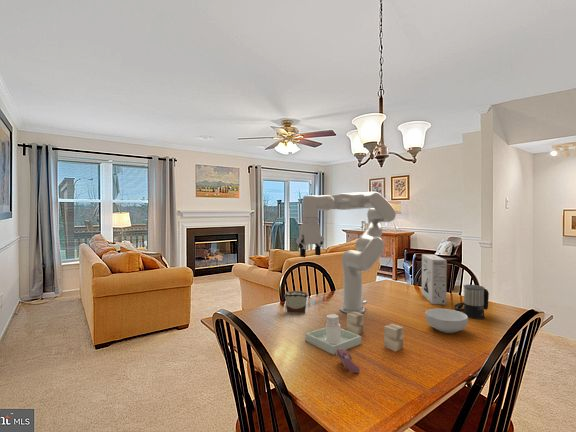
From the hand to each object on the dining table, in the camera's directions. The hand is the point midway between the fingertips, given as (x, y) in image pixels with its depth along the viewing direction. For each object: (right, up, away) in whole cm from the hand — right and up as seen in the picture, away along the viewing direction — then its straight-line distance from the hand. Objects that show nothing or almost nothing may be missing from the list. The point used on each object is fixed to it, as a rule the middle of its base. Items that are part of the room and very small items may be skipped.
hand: (310, 256), depth 155 cm
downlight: (+7, -31, -28) cm, 42 cm away
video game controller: (+9, -32, -48) cm, 58 cm away
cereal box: (+75, -30, +33) cm, 87 cm away
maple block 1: (+18, -31, -18) cm, 40 cm away
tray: (+7, -31, -28) cm, 42 cm away
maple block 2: (+30, -31, -33) cm, 54 cm away
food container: (-7, -30, +11) cm, 33 cm away
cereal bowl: (+59, -31, -15) cm, 68 cm away
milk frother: (+81, -30, +7) cm, 87 cm away
